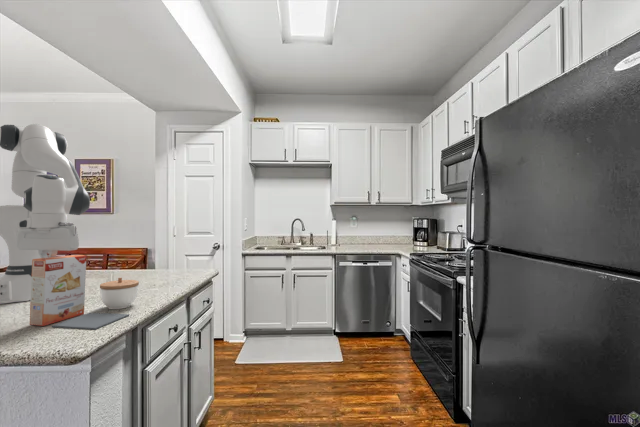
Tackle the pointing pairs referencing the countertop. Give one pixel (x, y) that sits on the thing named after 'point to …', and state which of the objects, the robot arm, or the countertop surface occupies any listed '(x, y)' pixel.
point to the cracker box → (57, 289)
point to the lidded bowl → (119, 293)
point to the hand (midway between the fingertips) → (47, 263)
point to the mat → (91, 321)
